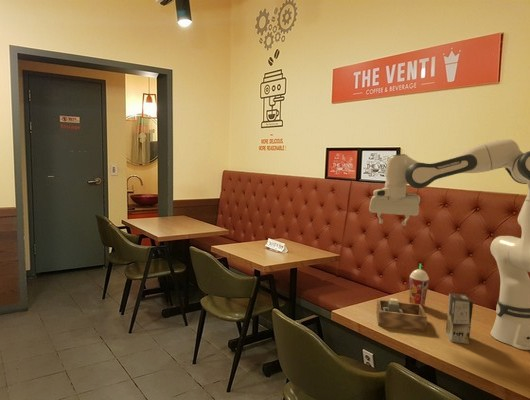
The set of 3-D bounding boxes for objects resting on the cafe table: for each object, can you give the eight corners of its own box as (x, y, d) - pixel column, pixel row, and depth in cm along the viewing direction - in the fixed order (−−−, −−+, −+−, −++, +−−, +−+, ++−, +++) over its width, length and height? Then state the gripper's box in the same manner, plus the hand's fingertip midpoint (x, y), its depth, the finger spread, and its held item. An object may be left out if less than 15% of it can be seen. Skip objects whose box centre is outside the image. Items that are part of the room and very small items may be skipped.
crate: (419, 317, 170) (420, 304, 169) (425, 331, 156) (426, 317, 155) (376, 312, 173) (377, 299, 173) (378, 325, 160) (379, 311, 159)
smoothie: (430, 308, 181) (434, 266, 179) (414, 309, 179) (418, 266, 177) (418, 302, 189) (422, 261, 187) (403, 303, 187) (407, 261, 185)
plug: (397, 316, 167) (398, 298, 166) (398, 320, 163) (399, 301, 162) (387, 315, 167) (388, 297, 167) (387, 319, 164) (389, 300, 163)
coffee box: (469, 344, 147) (473, 302, 145) (450, 342, 148) (455, 300, 146) (462, 333, 156) (466, 294, 154) (445, 331, 157) (448, 292, 155)
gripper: (419, 193, 170) (416, 225, 171) (370, 190, 174) (367, 221, 176) (422, 194, 164) (419, 227, 165) (370, 191, 168) (368, 223, 169)
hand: (392, 224), depth 170 cm, fingers open, 8 cm apart
